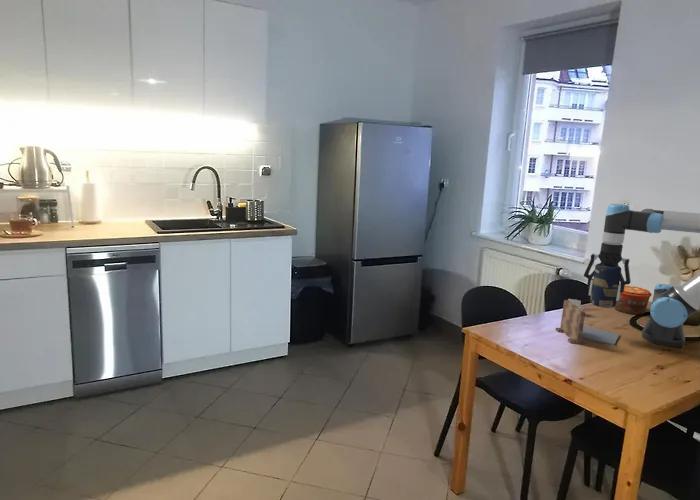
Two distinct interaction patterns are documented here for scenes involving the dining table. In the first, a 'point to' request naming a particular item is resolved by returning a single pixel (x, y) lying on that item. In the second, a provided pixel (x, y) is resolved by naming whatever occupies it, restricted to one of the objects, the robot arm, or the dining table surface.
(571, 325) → the tan upright piece
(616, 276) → the canister
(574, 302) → the architectural model
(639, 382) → the dining table surface
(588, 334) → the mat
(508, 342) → the dining table surface
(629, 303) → the food container
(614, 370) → the dining table surface
